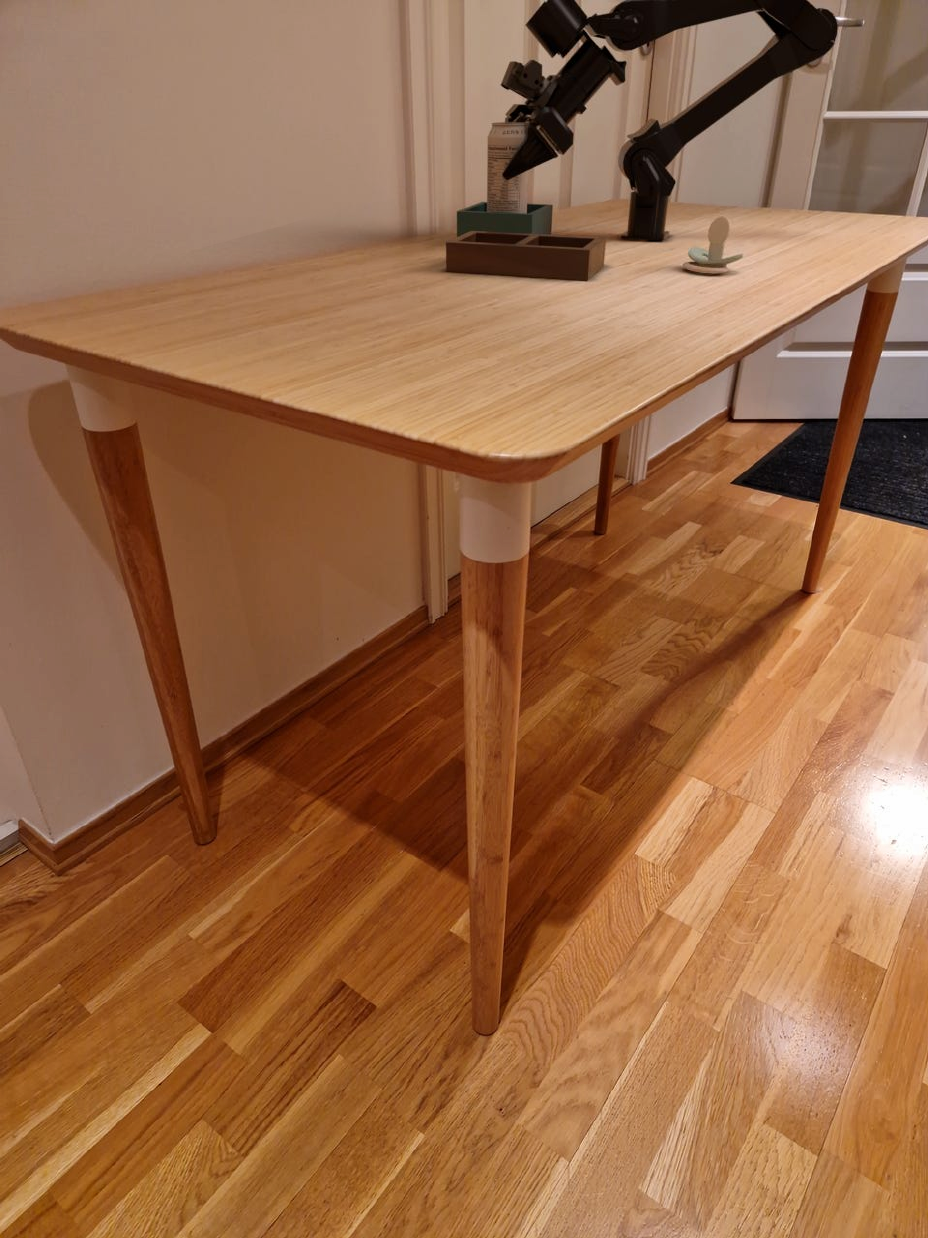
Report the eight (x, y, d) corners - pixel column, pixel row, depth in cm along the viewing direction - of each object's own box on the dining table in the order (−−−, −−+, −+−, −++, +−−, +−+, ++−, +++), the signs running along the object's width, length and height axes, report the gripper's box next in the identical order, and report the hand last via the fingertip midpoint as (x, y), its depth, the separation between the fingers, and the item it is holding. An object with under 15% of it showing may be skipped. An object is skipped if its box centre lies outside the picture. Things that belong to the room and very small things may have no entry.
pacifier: (716, 279, 104) (746, 271, 107) (724, 224, 100) (754, 217, 103) (670, 270, 109) (700, 263, 112) (676, 217, 105) (706, 211, 108)
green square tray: (481, 232, 135) (481, 201, 132) (551, 236, 131) (552, 204, 129) (456, 244, 126) (456, 210, 123) (531, 248, 122) (532, 214, 120)
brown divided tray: (471, 258, 116) (471, 230, 114) (604, 266, 111) (606, 237, 109) (446, 271, 108) (445, 241, 106) (587, 280, 103) (589, 249, 101)
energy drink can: (532, 235, 129) (536, 122, 121) (514, 240, 125) (517, 124, 117) (498, 232, 132) (500, 121, 124) (479, 237, 127) (480, 123, 119)
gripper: (521, 39, 123) (448, 127, 127) (555, 33, 107) (471, 134, 112) (569, 101, 128) (497, 184, 133) (608, 105, 113) (526, 198, 117)
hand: (497, 174), depth 123 cm, fingers open, 9 cm apart
